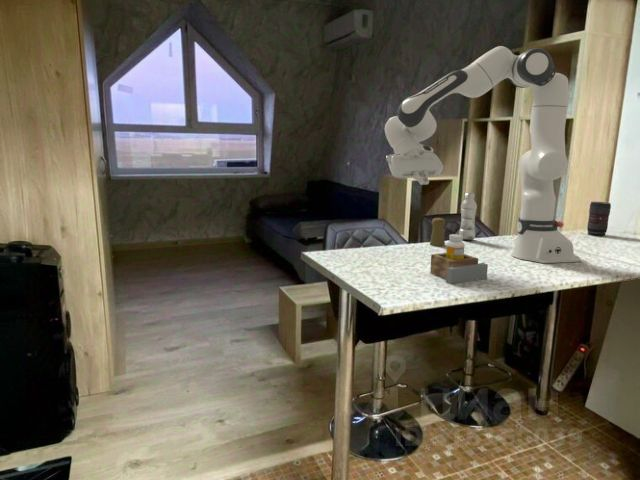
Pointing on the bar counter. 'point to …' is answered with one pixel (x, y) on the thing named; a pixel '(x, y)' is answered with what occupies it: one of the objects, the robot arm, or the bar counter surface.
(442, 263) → the walnut socket block
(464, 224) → the plastic bottle
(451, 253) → the supplement bottle
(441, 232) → the cork
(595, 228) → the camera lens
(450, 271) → the slate wall
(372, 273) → the bar counter surface
